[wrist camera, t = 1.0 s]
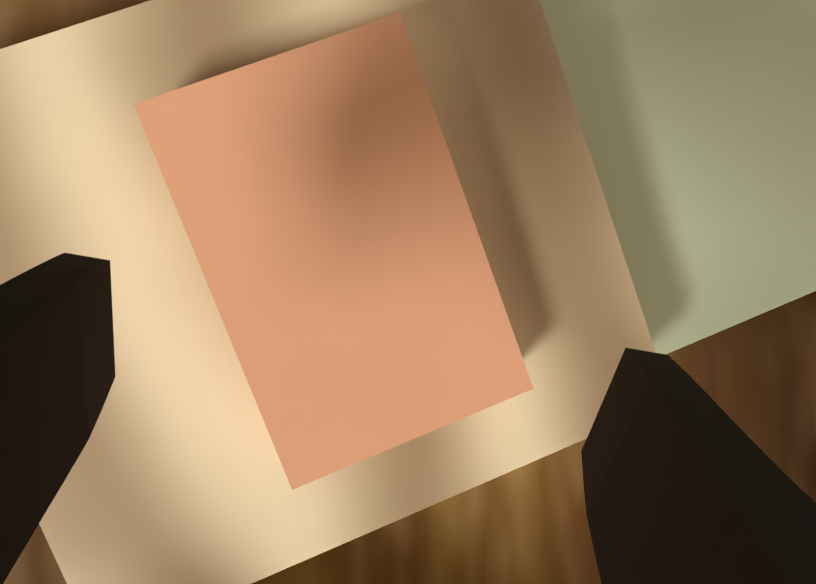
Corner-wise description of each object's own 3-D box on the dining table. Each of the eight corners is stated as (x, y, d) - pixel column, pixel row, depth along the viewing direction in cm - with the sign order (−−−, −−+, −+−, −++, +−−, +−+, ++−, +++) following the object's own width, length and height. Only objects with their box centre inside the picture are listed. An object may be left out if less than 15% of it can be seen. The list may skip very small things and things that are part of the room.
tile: (291, 462, 19) (292, 489, 17) (150, 118, 18) (133, 103, 16) (508, 372, 19) (533, 388, 18) (387, 36, 18) (399, 12, 16)
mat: (609, 373, 24) (614, 376, 24) (463, -54, 22) (466, -59, 22) (967, 222, 26) (978, 222, 26) (860, -186, 24) (869, -193, 24)
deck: (130, 576, 22) (98, 650, 18) (-73, 125, 20) (-158, 100, 16) (609, 373, 24) (672, 401, 20) (463, -54, 22) (502, -115, 18)
